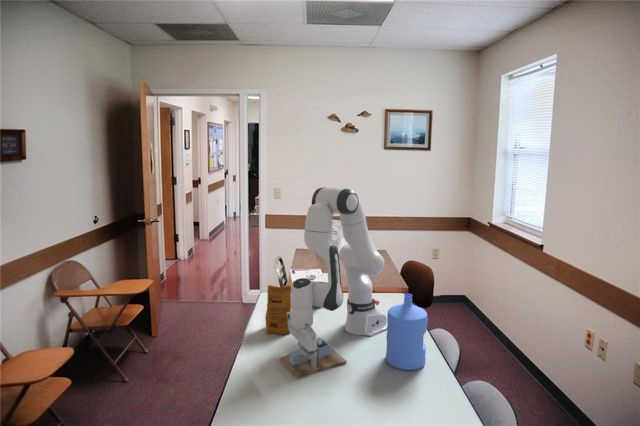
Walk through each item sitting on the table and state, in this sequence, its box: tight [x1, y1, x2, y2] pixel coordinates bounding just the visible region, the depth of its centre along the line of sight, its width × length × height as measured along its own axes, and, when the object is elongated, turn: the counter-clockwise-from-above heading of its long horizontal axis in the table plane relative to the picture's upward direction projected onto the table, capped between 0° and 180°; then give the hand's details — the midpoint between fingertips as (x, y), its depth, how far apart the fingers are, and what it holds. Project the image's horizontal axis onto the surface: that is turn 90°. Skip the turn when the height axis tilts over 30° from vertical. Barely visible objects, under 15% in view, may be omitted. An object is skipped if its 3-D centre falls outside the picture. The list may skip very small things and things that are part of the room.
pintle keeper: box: [299, 337, 323, 369], centre depth 171 cm, size 16×6×6 cm, turn 157°
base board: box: [279, 348, 347, 379], centre depth 172 cm, size 22×15×1 cm
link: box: [288, 338, 333, 366], centre depth 173 cm, size 17×6×4 cm, turn 125°
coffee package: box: [265, 284, 292, 336], centre depth 198 cm, size 10×12×22 cm
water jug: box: [385, 293, 429, 371], centre depth 171 cm, size 16×16×28 cm
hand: (302, 351), depth 174 cm, fingers closed
